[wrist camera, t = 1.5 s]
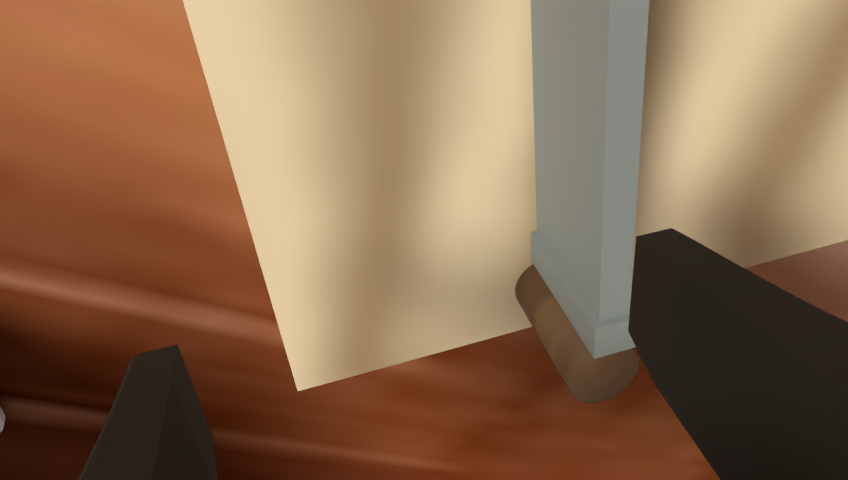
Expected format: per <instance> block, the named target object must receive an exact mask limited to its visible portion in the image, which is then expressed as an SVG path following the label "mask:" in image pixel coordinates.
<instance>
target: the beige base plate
mask: <svg viewBox="0 0 848 480" xmlns="http://www.w3.org/2000/svg"><path fill="white" fill-rule="evenodd" d="M183 3H184V6H185V9H186V13H187V16H188V20H189V23H190V26H191V30H192V33H193V37H194V40H195V43H196V47H197V50H198V54H199V57H200V61H201V64H202V67H203V71H204V74H205V78H206V81H207V84H208V88H209V91H210V95H211V98H212V101H213V105H214V108H215V112H216V115H217V118H218V122H219V125H220V129H221V132H222V135H223V139H224V142H225V146H226V149H227V152H228V156H229V159H230V163H231V166H232V169H233V173H234V176H235V180H236V183H237V186H238V190H239V193H240V197H241V200H242V203H243V207H244V210H245V214H246V217H247V220H248V224H249V227H250V231H251V234H252V238H253V241H254V244H255V248H256V251H257V255H258V258H259V261H260V265H261V268H262V272H263V275H264V278H265V282H266V285H267V289H268V292H269V295H270V299H271V302H272V306H273V309H274V312H275V316H276V319H277V323H278V326H279V329H280V333H281V336H282V340H283V343H284V346H285V350H286V353H287V357H288V360H289V363H290V367H291V370H292V374H293V377H294V380H295V384H296V387H297V391H301V390H304V389H308V388H312V387H315V386H319V385H323V384H326V383H330V382H334V381H337V380H341V379H344V378H348V377H352V376H355V375H359V374H363V373H366V372H370V371H373V370H377V369H381V368H384V367H388V366H392V365H395V364H399V363H403V362H406V361H410V360H413V359H417V358H421V357H424V356H428V355H432V354H435V353H439V352H443V351H446V350H450V349H453V348H457V347H461V346H464V345H468V344H472V343H475V342H479V341H483V340H486V339H490V338H493V337H497V336H501V335H504V334H508V333H512V332H515V331H519V330H523V329H526V328H530V327H533V328H534V330H535V332H536V334H537V335H538V337H539V339H540V340H541V342H542V344H543V346H544V347H545V349H546V351H547V353H548V354H549V356H550V358H551V360H552V361H553V363H554V365H555V366H556V368H557V370H558V372H559V373H560V375H561V377H562V379H563V380H564V382H565V384H566V385H567V387H568V389H569V391H570V392H571V394H572V395H573V397H575V398H576V399H577V400H579V401H582V402H589V403H592V402H600V401H604V400H607V399H609V398H611V397H613V396H615V395H617V394H618V393H620V392H621V391H623V390H624V389H625V388H626V387H627V386H628V385H629V384H630V383H631V382H632V381H633V379H634V378H635V376H636V374H637V372H638V368H639V359H638V357H637V355H636V353H635V352H634V350H633V349H632V348H631V349H627V350H624V351H620V352H617V353H613V354H610V355H606V356H603V357H599V358H596V359H594V358H593V357H592V355H591V353H590V352H589V350H588V349H587V347H586V346H585V344H584V342H583V341H582V339H581V338H580V336H579V335H578V333H577V332H576V330H575V328H574V327H573V325H572V324H571V322H570V321H569V319H568V317H567V316H566V314H565V313H564V311H563V310H562V308H561V307H560V305H559V303H558V302H557V300H556V299H555V297H554V296H553V294H552V292H551V291H550V289H549V288H548V286H547V285H546V283H545V282H544V280H543V278H542V277H541V275H540V274H539V272H538V271H537V269H536V267H535V266H534V264H533V263H532V261H531V240H530V233H532V232H536V231H537V215H536V179H535V142H534V106H533V69H532V33H531V0H183ZM670 228H672V229H674V230H676V231H678V232H680V233H682V234H684V235H686V236H688V237H690V238H691V239H693V240H695V241H697V242H699V243H700V244H702V245H704V246H706V247H707V248H709V249H711V250H713V251H714V252H716V253H718V254H720V255H721V256H723V257H725V258H727V259H728V260H730V261H732V262H734V263H736V264H737V265H739V266H741V267H743V268H748V267H751V266H755V265H759V264H762V263H766V262H770V261H773V260H777V259H781V258H784V257H788V256H791V255H795V254H799V253H802V252H806V251H810V250H813V249H817V248H821V247H824V246H828V245H831V244H835V243H839V242H842V241H846V240H848V0H649V15H648V31H647V46H646V62H645V78H644V94H643V109H642V125H641V141H640V156H639V172H638V188H637V204H636V219H635V235H634V251H633V267H634V255H635V244H636V236H640V235H644V234H648V233H653V232H657V231H661V230H665V229H670ZM633 267H632V279H633ZM631 290H632V282H631ZM630 300H631V298H630Z"/></svg>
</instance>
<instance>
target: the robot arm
mask: <svg viewBox="0 0 848 480" xmlns="http://www.w3.org/2000/svg"><path fill="white" fill-rule="evenodd" d="M628 332H629V334H630V336H631V338H632V340H633V342H634V344H635V346H636V348H637V350H638V352H639V354H640V356H641V358H642V360H643V362H644V364H645V366H646V368H647V370H648V372H649V374H650V376H651V377H652V379H653V381H654V383H655V385H656V386H657V388H658V389H659V391H660V392H661V394H662V395H663V397H664V398H665V400H666V401H667V403H668V404H669V406H670V407H671V409H672V410H673V411H674V413H675V414H676V416H677V417H678V419H679V420H680V422H681V423H682V425H683V426H684V428H685V429H686V430H687V432H688V433H689V435H690V436H691V438H692V439H693V440H694V442H695V443H696V445H697V446H698V448H699V449H700V451H701V452H702V453H703V455H704V456H705V458H706V459H707V461H708V462H709V463H710V465H711V466H712V468H713V469H714V471H715V472H716V474H717V475H718V476H719V478H720V479H721V480H848V322H846V321H843V320H841V319H839V318H837V317H835V316H833V315H831V314H829V313H827V312H825V311H823V310H821V309H819V308H817V307H815V306H813V305H811V304H809V303H807V302H805V301H803V300H801V299H799V298H797V297H795V296H794V295H792V294H790V293H788V292H786V291H784V290H782V289H780V288H779V287H777V286H775V285H773V284H771V283H769V282H768V281H766V280H764V279H762V278H760V277H759V276H757V275H755V274H753V273H751V272H750V271H748V270H746V269H744V268H743V267H741V266H739V265H737V264H736V263H734V262H732V261H730V260H728V259H727V258H725V257H723V256H721V255H720V254H718V253H716V252H714V251H713V250H711V249H709V248H707V247H706V246H704V245H702V244H700V243H699V242H697V241H695V240H693V239H691V238H690V237H688V236H686V235H684V234H682V233H680V232H678V231H676V230H674V229H672V228H670V229H665V230H661V231H657V232H653V233H648V234H644V235H640V236H636V244H635V255H634V267H633V279H632V290H631V302H630V314H629V325H628ZM4 423H5V414H4V412H3V411H2V409H1V407H0V432H1V431H2V430H3V427H4ZM78 480H218V477H217V468H216V460H215V452H214V444H213V436H212V434H211V431H210V428H209V426H208V423H207V421H206V418H205V415H204V413H203V410H202V408H201V405H200V402H199V400H198V397H197V394H196V392H195V389H194V387H193V384H192V381H191V379H190V376H189V374H188V371H187V368H186V366H185V363H184V361H183V358H182V355H181V353H180V350H179V347H178V345H175V346H171V347H167V348H162V349H158V350H154V351H150V352H145V353H141V354H137V355H135V356H134V357H133V359H132V360H131V361H130V363H129V365H128V368H127V371H126V373H125V376H124V378H123V381H122V383H121V386H120V388H119V391H118V393H117V396H116V398H115V400H114V403H113V405H112V408H111V410H110V412H109V414H108V417H107V419H106V421H105V423H104V426H103V428H102V430H101V433H100V435H99V437H98V439H97V441H96V443H95V445H94V447H93V449H92V451H91V454H90V456H89V458H88V460H87V462H86V464H85V466H84V468H83V470H82V472H81V474H80V476H79V478H78Z"/></svg>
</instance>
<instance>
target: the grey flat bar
mask: <svg viewBox="0 0 848 480" xmlns="http://www.w3.org/2000/svg"><path fill="white" fill-rule="evenodd" d="M648 15H649V0H531V33H532V69H533V106H534V142H535V179H536V215H537V231H536V232H532V233H530V240H531V261H532V263H533V264H534V266H535V267H536V269H537V271H538V272H539V274H540V275H541V277H542V278H543V280H544V282H545V283H546V285H547V286H548V288H549V289H550V291H551V292H552V294H553V296H554V297H555V299H556V300H557V302H558V303H559V305H560V307H561V308H562V310H563V311H564V313H565V314H566V316H567V317H568V319H569V321H570V322H571V324H572V325H573V327H574V328H575V330H576V332H577V333H578V335H579V336H580V338H581V339H582V341H583V342H584V344H585V346H586V347H587V349H588V350H589V352H590V353H591V355H592V357H593V358H594V359H596V358H599V357H603V356H606V355H610V354H613V353H617V352H620V351H624V350H627V349H631V348H635V347H636V346H635V344H634V342H633V340H632V338H631V336H630V334H629V332H628V325H629V314H630V298H631V282H632V267H633V251H634V235H635V219H636V204H637V188H638V172H639V156H640V141H641V125H642V109H643V94H644V78H645V62H646V46H647V31H648Z"/></svg>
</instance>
